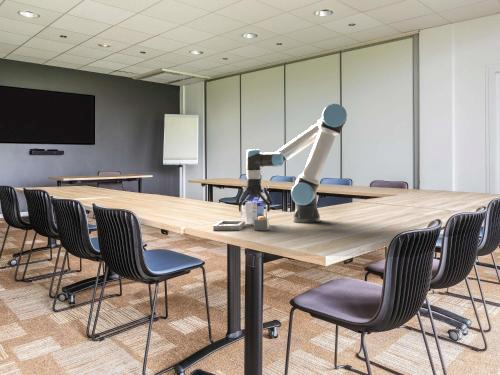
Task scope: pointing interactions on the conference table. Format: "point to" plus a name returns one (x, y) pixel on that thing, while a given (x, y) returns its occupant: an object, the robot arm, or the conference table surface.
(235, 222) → the tray
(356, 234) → the conference table surface
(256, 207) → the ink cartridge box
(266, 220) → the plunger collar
